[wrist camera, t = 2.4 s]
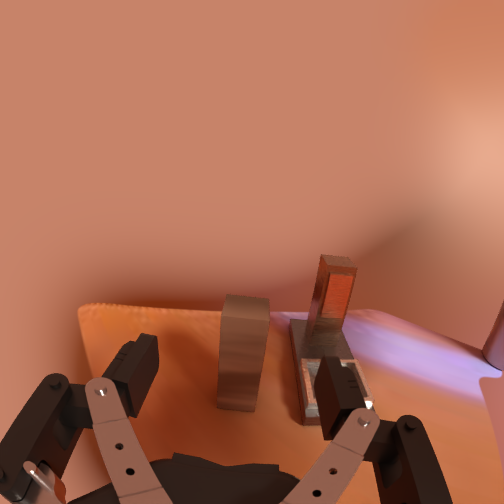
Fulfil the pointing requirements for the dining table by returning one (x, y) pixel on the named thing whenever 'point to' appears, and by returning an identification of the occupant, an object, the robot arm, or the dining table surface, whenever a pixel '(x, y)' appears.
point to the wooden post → (241, 351)
